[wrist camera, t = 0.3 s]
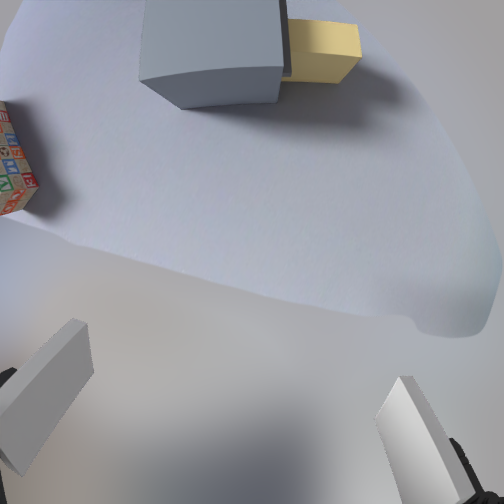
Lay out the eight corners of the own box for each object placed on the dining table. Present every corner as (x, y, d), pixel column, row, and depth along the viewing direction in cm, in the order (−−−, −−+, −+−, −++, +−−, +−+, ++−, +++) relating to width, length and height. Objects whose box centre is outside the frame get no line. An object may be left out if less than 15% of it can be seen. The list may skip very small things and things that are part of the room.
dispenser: (181, 42, 31) (146, -6, 18) (279, 35, 30) (285, -22, 17) (180, 109, 33) (138, 80, 20) (283, 103, 33) (293, 66, 20)
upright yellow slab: (227, 56, 31) (215, 21, 22) (335, 57, 31) (357, 25, 21) (227, 83, 32) (214, 54, 23) (338, 83, 32) (362, 57, 22)
